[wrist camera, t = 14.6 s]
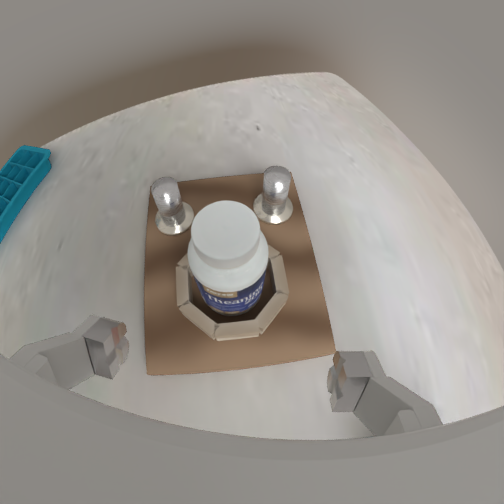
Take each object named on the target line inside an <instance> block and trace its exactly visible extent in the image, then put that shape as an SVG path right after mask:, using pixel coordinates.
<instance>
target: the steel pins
mask: <svg viewBox="0 0 504 504" xmlns="http://www.w3.org/2000/svg"><path fill="white" fill-rule="evenodd" d="M290 181H291V174H290V172H289V171H288V170H287V169H286V168H284V167H281V166H272V167H269V168H267V169H266V170H265V172H264V181H263V193H262V194H260V195H259V196H257V198H256V199H255V201H254V204H253V211H254V213H255V215H256V216H257V218H258V219H259V220H260V221H262V222H263V223H266V224H269V225H279V224H282V223H285V222H286V221H287V220H289V218H290V217H291V215H292V211H293V205H292V202H291V200H290V199H289V198H288V197H287V196H288V191H289V186H290ZM151 193H152V195H153V198H154V200H155V203H156V205H157V207H158V210H159V211H158V212H157V214H156V218H155V222H156V226H157V228H158V229H159V231H160V232H161V233H163V234H165V235H168V236H177V235H180V234H183V233H184V232H186V231H187V230H188V229H189V228H190V227H191V226H192V222H193V220H194V212H193V209H192V208H191V206H190V205H189V204H187V203H185V202H182V199H181V196H180V192H179V188H178V185H177V182H176V180H175V179H173V178H171V177H163V178H160V179H158V180H157V181H155V182H154V183H153V185H152V187H151Z"/></svg>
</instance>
